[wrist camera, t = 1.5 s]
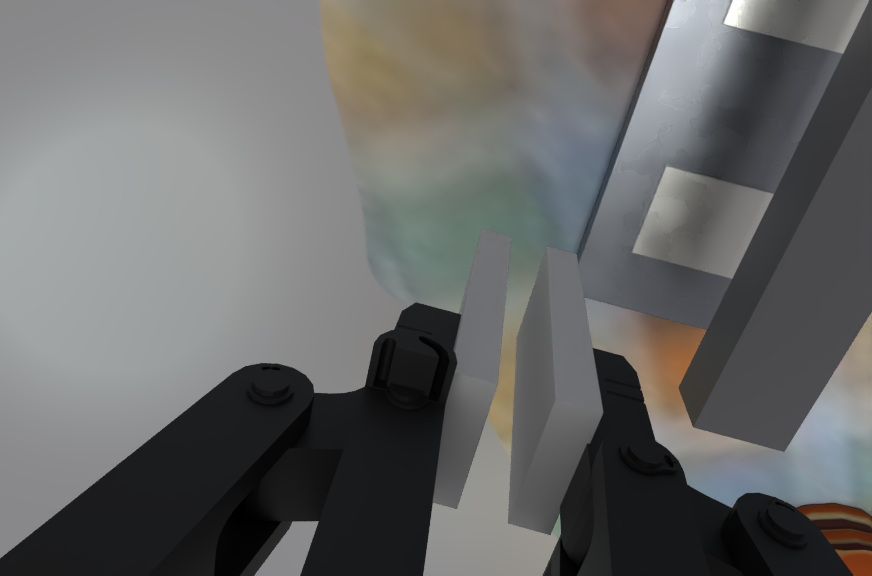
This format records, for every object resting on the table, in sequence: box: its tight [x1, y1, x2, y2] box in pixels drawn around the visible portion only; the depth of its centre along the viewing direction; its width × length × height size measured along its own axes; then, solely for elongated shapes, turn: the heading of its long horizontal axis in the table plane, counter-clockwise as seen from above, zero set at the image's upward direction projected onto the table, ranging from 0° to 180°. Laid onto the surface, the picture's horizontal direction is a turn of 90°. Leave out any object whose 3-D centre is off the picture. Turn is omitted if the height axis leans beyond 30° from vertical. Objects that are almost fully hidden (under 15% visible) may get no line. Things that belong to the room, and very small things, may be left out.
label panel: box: [577, 0, 869, 330], centre depth 27 cm, size 14×30×8 cm, turn 167°
